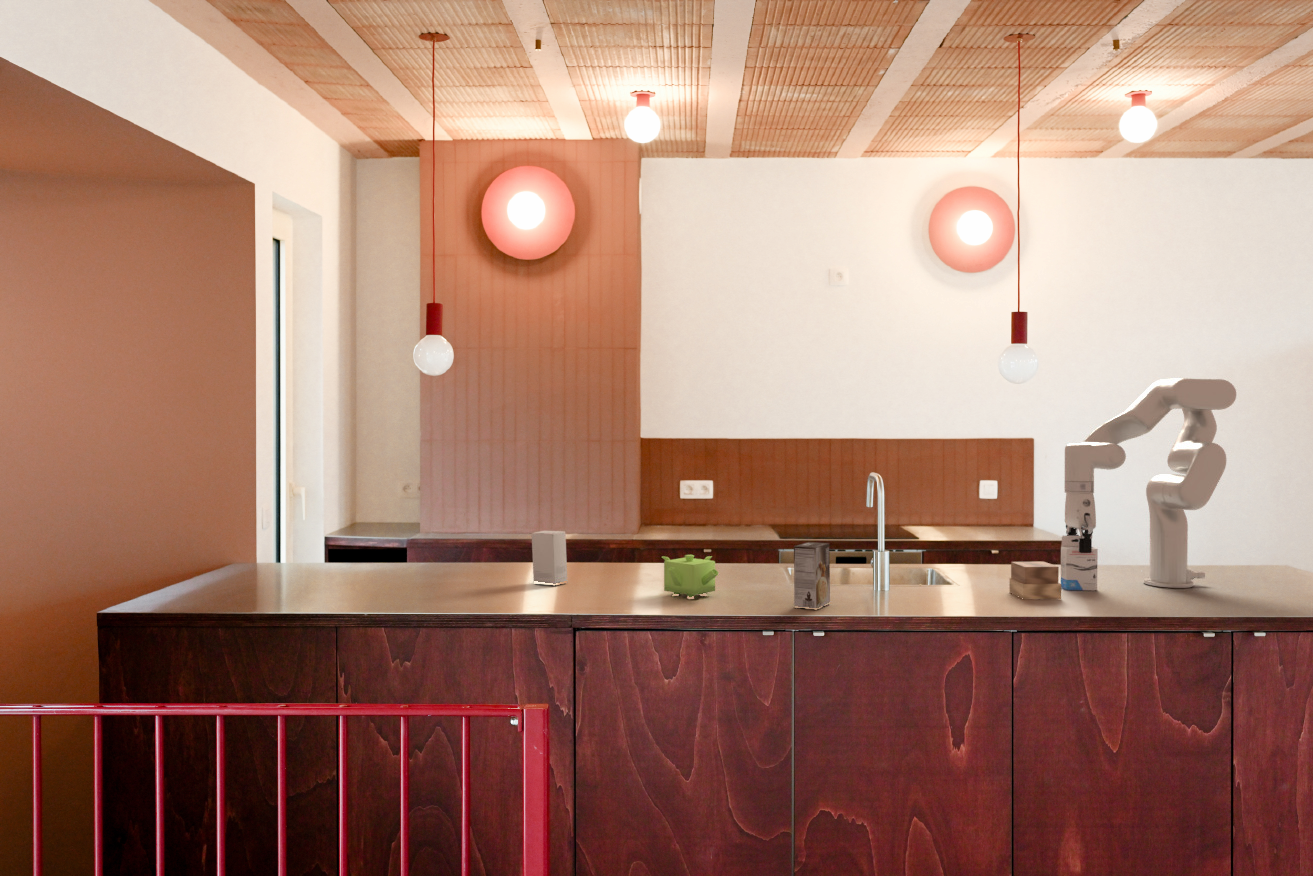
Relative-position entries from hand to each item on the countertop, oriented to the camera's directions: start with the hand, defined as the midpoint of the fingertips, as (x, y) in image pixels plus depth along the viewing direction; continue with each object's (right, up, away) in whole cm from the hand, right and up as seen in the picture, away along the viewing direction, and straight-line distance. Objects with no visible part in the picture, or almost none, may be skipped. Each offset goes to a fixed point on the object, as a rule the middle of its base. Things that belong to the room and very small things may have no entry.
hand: (1078, 550), depth 264 cm
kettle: (-109, -12, -5) cm, 110 cm away
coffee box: (-78, -12, -22) cm, 82 cm away
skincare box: (-150, -12, +14) cm, 151 cm away
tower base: (-16, -12, -10) cm, 22 cm away
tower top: (-16, -7, -10) cm, 20 cm away
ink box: (0, -11, 0) cm, 11 cm away
